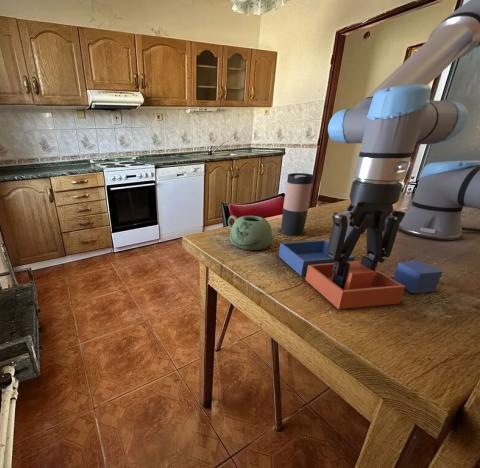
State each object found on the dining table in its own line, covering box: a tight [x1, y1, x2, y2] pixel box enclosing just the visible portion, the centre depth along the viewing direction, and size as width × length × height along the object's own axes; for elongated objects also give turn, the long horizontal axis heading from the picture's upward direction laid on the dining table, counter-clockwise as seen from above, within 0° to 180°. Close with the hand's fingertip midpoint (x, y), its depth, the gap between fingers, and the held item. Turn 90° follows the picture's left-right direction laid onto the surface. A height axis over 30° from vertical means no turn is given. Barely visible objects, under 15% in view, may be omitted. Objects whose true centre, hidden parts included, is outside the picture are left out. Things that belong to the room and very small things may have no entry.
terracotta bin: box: [305, 260, 406, 310], centre depth 56 cm, size 13×11×4 cm
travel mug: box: [280, 172, 314, 237], centre depth 87 cm, size 8×8×20 cm
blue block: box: [392, 260, 443, 294], centre depth 57 cm, size 5×5×5 cm
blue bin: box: [278, 239, 355, 277], centre depth 68 cm, size 13×11×4 cm
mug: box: [227, 215, 273, 251], centre depth 82 cm, size 16×13×9 cm
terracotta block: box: [331, 260, 375, 290], centre depth 56 cm, size 5×5×5 cm
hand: (349, 286), depth 56 cm, fingers closed on terracotta block, 5 cm apart
